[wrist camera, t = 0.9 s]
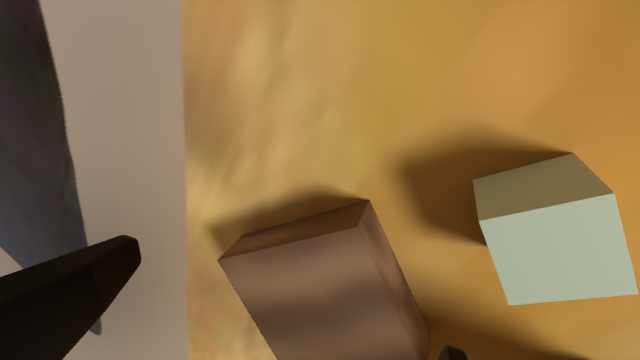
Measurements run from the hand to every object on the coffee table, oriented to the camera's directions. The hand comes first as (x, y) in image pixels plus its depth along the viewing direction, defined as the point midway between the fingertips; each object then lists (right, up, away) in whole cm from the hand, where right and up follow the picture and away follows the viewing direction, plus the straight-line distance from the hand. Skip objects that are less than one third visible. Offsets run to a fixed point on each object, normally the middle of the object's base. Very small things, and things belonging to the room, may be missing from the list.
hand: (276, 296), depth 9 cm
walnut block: (+2, -5, +18) cm, 19 cm away
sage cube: (+13, +2, +10) cm, 17 cm away
